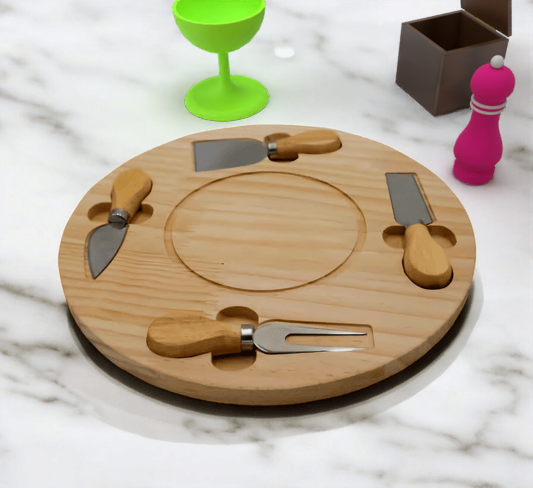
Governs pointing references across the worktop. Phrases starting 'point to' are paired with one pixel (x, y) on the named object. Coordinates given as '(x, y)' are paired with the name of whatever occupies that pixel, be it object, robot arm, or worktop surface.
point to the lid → (491, 13)
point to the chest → (445, 59)
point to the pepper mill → (483, 124)
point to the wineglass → (222, 55)
